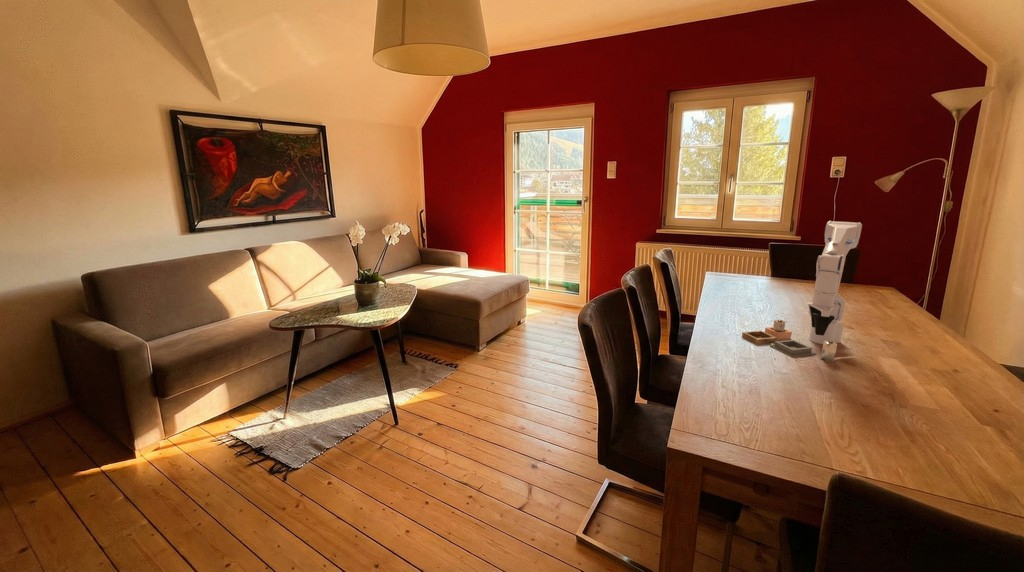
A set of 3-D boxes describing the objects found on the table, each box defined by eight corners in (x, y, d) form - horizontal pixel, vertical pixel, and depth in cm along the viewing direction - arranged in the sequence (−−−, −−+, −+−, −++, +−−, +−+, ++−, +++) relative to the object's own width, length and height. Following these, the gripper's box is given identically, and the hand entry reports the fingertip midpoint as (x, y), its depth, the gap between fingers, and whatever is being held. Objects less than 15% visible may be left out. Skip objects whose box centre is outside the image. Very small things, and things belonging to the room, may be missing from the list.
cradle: (792, 345, 155) (793, 338, 155) (815, 356, 146) (817, 348, 146) (769, 347, 154) (770, 340, 153) (791, 358, 144) (792, 351, 144)
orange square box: (777, 334, 166) (779, 326, 165) (790, 340, 160) (791, 331, 159) (764, 335, 164) (765, 327, 164) (776, 341, 159) (777, 333, 158)
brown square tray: (760, 336, 164) (760, 330, 163) (775, 343, 157) (776, 337, 156) (741, 338, 162) (742, 332, 162) (756, 345, 155) (757, 339, 155)
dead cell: (777, 334, 164) (780, 318, 163) (785, 337, 161) (788, 321, 159) (769, 335, 163) (772, 319, 162) (777, 338, 160) (779, 322, 158)
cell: (826, 356, 146) (830, 339, 144) (836, 361, 142) (840, 343, 141) (817, 357, 145) (821, 340, 143) (827, 362, 141) (831, 344, 140)
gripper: (806, 284, 147) (800, 322, 151) (813, 295, 135) (806, 336, 138) (832, 287, 144) (824, 325, 148) (841, 298, 132) (833, 340, 135)
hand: (817, 331), depth 143 cm, fingers open, 7 cm apart
